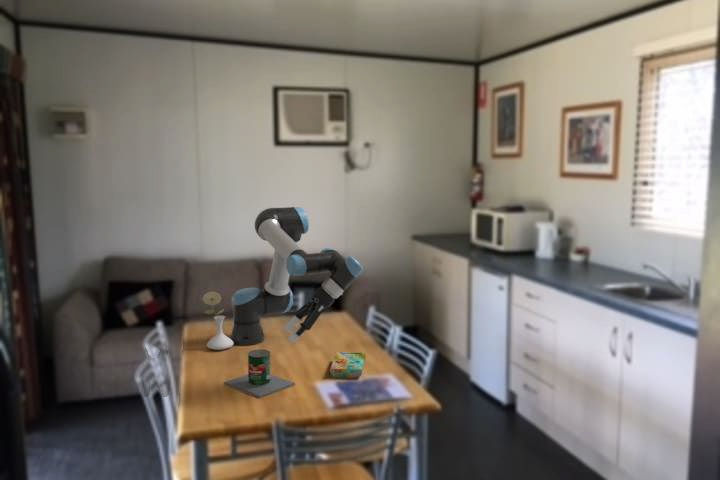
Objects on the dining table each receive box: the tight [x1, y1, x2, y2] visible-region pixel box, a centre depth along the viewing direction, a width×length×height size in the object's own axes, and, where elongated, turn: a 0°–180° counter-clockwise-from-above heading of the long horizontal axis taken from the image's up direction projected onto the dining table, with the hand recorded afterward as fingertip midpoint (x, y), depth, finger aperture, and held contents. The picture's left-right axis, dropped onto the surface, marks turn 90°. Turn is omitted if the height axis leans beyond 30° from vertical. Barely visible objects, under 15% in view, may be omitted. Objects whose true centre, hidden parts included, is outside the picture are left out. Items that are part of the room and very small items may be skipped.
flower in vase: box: [201, 290, 235, 351], centre depth 250 cm, size 13×11×25 cm
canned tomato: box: [247, 349, 272, 387], centre depth 207 cm, size 8×8×11 cm
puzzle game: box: [329, 351, 367, 379], centre depth 224 cm, size 12×5×20 cm
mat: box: [223, 374, 296, 399], centre depth 208 cm, size 20×16×1 cm
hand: (287, 336), depth 208 cm, fingers open, 13 cm apart
